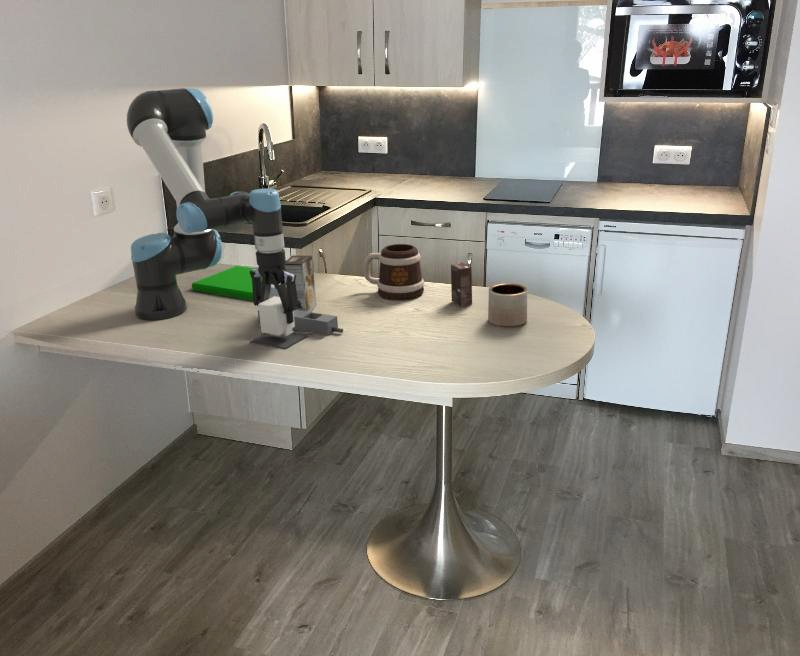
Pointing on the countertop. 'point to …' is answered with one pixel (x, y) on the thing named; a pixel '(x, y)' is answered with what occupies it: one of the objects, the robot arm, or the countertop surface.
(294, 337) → the mat
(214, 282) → the book
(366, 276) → the mug
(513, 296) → the planter
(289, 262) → the coffee box
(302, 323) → the power strip
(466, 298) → the box
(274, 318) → the block
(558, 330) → the countertop surface
